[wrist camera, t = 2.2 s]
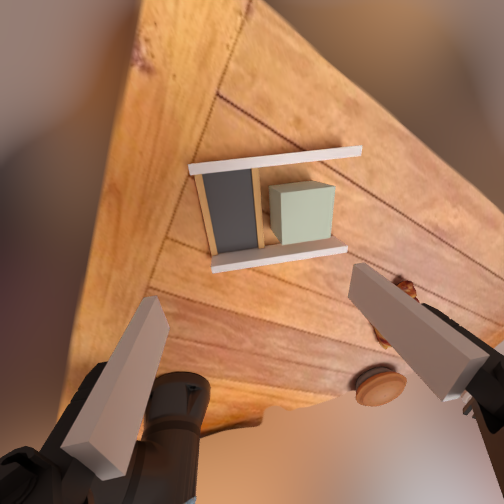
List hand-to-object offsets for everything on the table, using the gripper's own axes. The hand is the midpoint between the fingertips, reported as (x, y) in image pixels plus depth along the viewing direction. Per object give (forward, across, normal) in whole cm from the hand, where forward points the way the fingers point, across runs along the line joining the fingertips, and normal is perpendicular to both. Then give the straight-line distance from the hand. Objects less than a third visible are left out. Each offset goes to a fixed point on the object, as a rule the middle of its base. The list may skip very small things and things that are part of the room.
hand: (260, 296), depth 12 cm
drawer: (+21, -1, 0) cm, 21 cm away
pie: (+21, +35, -57) cm, 70 cm away
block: (+21, +9, 0) cm, 22 cm away
